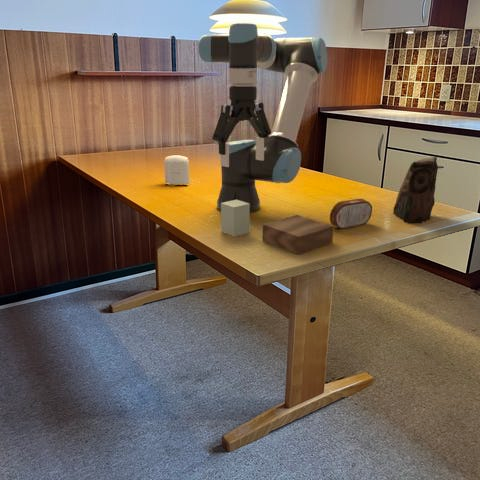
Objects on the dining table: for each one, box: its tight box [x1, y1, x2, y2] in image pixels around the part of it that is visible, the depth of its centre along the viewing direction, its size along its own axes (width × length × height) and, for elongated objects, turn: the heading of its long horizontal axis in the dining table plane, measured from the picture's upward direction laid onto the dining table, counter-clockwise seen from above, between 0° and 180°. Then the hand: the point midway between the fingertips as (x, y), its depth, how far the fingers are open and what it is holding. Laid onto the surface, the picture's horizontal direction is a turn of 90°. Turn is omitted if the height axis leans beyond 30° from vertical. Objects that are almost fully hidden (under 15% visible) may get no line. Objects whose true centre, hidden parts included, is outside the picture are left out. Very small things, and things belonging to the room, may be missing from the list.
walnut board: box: [262, 214, 335, 255], centre depth 138 cm, size 14×14×5 cm
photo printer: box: [163, 154, 190, 185], centre depth 201 cm, size 10×4×12 cm, turn 84°
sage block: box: [220, 200, 250, 237], centre depth 145 cm, size 6×6×9 cm
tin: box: [329, 198, 373, 230], centre depth 151 cm, size 15×3×8 cm, turn 118°
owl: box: [392, 156, 439, 225], centre depth 156 cm, size 13×13×20 cm
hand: (242, 163), depth 140 cm, fingers open, 13 cm apart
